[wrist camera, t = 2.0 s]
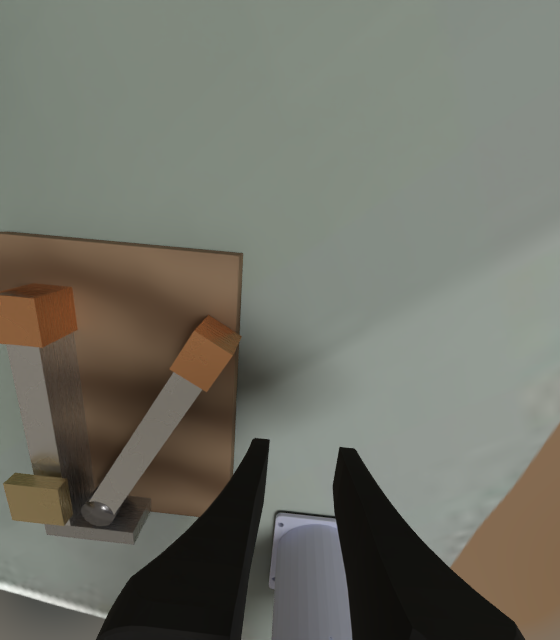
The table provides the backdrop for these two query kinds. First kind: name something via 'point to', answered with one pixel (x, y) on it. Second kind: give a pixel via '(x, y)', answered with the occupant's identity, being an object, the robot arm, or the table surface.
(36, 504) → the tab
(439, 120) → the table surface
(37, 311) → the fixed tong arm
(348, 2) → the table surface
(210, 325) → the tong arm
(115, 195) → the table surface
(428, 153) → the table surface
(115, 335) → the board
